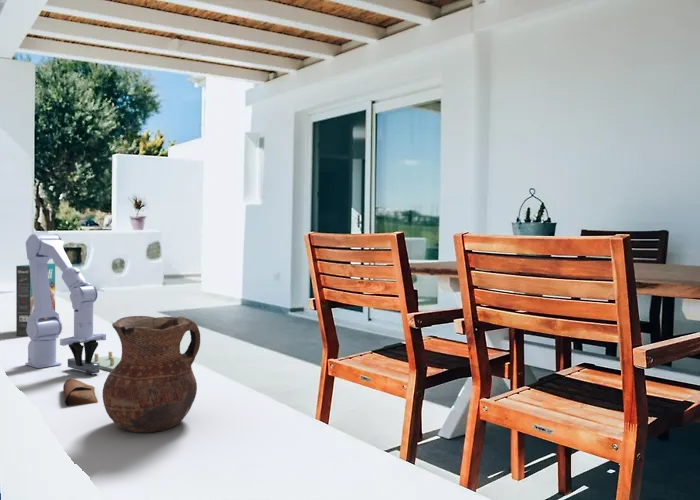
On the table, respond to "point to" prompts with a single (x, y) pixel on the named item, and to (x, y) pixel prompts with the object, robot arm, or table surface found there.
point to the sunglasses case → (78, 393)
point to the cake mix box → (29, 295)
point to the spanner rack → (106, 361)
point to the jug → (152, 373)
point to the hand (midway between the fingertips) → (83, 365)
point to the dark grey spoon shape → (84, 366)
